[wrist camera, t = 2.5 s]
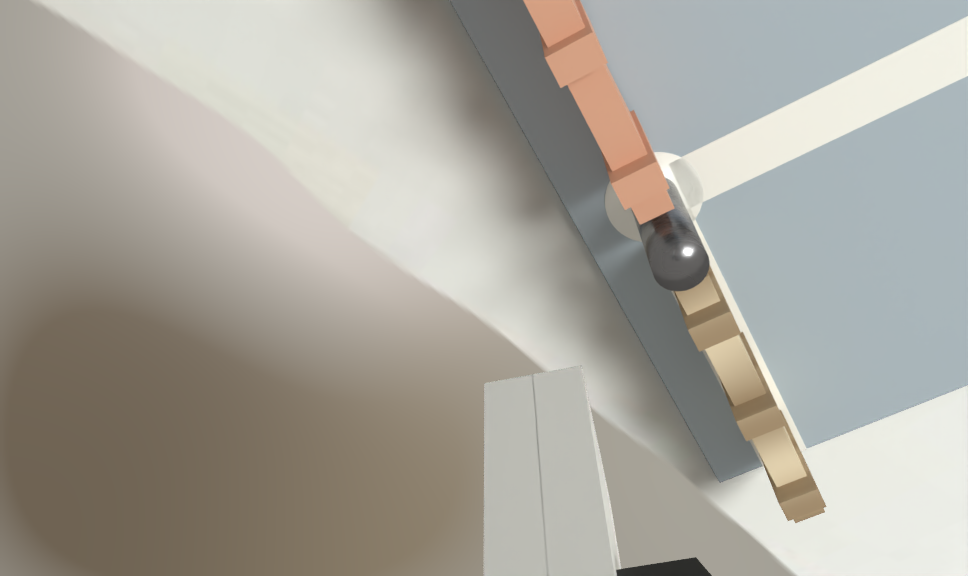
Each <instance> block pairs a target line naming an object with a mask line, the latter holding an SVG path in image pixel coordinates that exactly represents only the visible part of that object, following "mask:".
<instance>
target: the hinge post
mask: <svg viewBox="0 0 968 576" xmlns="http://www.w3.org/2000/svg"><path fill="white" fill-rule="evenodd" d="M665 179H666V181H667V183H668V186H669V189H667V192H668V194H669V196H670V199H671V201H672V203H673V206H674V209H672V210H670V211H668V212H666V213H664V214H662V215H660V216H658V217H656V218H653V219H651V220H649V221H647V222H645V223H643V224H641V225H640V224H639V222H638V220H637V218H636V216H635V214H634V212H633V210H632V208H631V210H632V213H633V216H634V219H635V222H636V225H637V228H638V231H639V234H640V237H641V240H642V243H643V246H644V249H645V252H646V255H647V258H648V261H649V264H650V267H651V270H652V273H653V276H654V278H655V280H656V282H657V283H658V284H659V285H660V286H662V287H663V288H665V289H667V290H670V291H686V290H689V289H692V288H694V287H695V286H697V285H698V284H700V283H701V282H702V281H703V280H704V278H705V277H706V275H707V273H708V271H709V266H710V261H709V257H708V254H707V252H706V250H705V248H704V246H703V243H702V241H701V239H700V237H699V235H698V233H697V230H696V228H695V226H694V224H693V222H692V220H691V217H690V215H689V213H688V211H687V209H686V207H685V204H684V202H683V200H682V198H681V196H680V194H679V191H678V189H677V187H676V185H675V184H674V183H673V182H672V181H671V180H669V179H668V178H665Z"/></svg>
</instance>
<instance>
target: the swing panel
mask: <svg viewBox="0 0 968 576" xmlns="http://www.w3.org/2000/svg"><path fill="white" fill-rule="evenodd" d="M523 1H524V3H525V5H526V7H527V9H528V11H529V13H530V14H531V16H532V18H533V20H534V22H535V24H536V26H537V28H538V30H539V32H540V37H541V42H542V46H543V51H544V56H545V59H546V61H547V63H548V65H549V67H550V69H551V71H552V72H553V74H554V76H555V78H556V80H557V82H558V84H559V86H560V88H562V87H564V86H566V85H568V87H569V89H570V91H571V93H572V95H573V97H574V99H575V101H576V103H577V105H578V107H579V109H580V110H581V112H582V114H583V116H584V118H585V120H586V122H587V124H588V126H589V128H590V130H591V132H592V133H593V135H594V137H595V139H596V141H597V143H598V145H599V147H600V149H601V152H602V156H603V159H604V162H605V166H606V169H607V172H608V175H609V179H610V182H611V185H612V187H613V189H614V190H615V192H616V194H617V196H618V198H619V200H620V202H621V204H622V206H623V208H624V209H625V210H626V209H628V208H630V207H631V208H632V210H633V212H634V214H635V216H636V218H637V220H638V222H639V224H640V225H641V224H643V223H645V222H647V221H649V220H651V219H653V218H656V217H658V216H660V215H662V214H664V213H666V212H668V211H670V210H672V209H674V206H673V203H672V201H671V199H670V196H669V194H668V192H667V189H669V186H668V183H667V181H666V179H665V177H664V174H663V172H662V170H661V167H660V165H659V163H658V161H657V158H656V156H655V154H654V152H653V149H652V147H651V145H650V143H649V140H648V138H647V136H646V134H645V132H644V130H643V128H642V125H641V123H640V121H639V119H638V117H637V115H636V113H635V111H634V110H632V111H629V109H628V107H627V105H626V103H625V101H624V99H623V97H622V95H621V93H620V91H619V89H618V87H617V85H616V83H615V81H614V79H613V77H612V75H611V73H610V71H609V69H608V67H607V63H608V62H607V59H606V57H605V55H604V52H603V50H602V47H601V45H600V43H599V40H598V38H597V36H596V33H595V31H594V28H593V26H592V24H591V22H590V19H589V17H588V15H587V13H586V11H585V9H584V7H583V5H582V3H581V1H580V0H523Z"/></svg>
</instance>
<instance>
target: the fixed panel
mask: <svg viewBox="0 0 968 576" xmlns="http://www.w3.org/2000/svg"><path fill="white" fill-rule="evenodd" d="M674 293H675V296H676V299H677V301H678V304H679V307H680V310H681V313H682V315H683V318H684V321H685V324H686V326H687V329H688V331H689V333H690V335H691V337H692V339H693V341H694V343H695V345H696V346H697V348H698V350H699V352H700V351H703V350H706V352H707V354H708V356H709V358H710V360H711V362H712V364H713V366H714V368H715V370H716V372H717V374H718V376H719V379H720V381H721V384H722V387H723V389H724V392H725V394H726V397H727V399H728V402H729V405H730V407H731V410H732V412H733V415H734V418H735V420H736V423H737V425H738V426H739V428H740V430H741V432H742V434H743V436H744V438H745V440H746V441H749V440H751V439H752V441H753V443H754V444H755V446H756V448H757V450H758V452H759V455H760V457H761V460H762V462H763V465H764V467H765V470H766V472H767V475H768V477H769V480H770V482H771V485H772V487H773V490H774V492H775V495H776V497H777V500H778V502H779V504H780V506H781V508H782V510H783V512H784V514H785V516H786V518H787V520H788V521H789V520H792V519H794V521H795V523H797V522H800V521H802V520H805V519H808V518H810V517H813V516H816V515H819V514H821V513H824V512H825V511H824V509H823V508H824V507H826V505H825V503H824V500H823V498H822V496H821V494H820V492H819V490H818V488H817V485H816V483H815V481H814V479H813V477H812V475H811V472H810V470H809V468H808V466H807V464H806V462H805V460H804V457H803V455H802V453H801V451H800V449H799V447H798V444H797V442H796V440H795V438H794V436H793V434H792V432H791V429H790V427H789V425H788V423H787V421H786V419H785V417H784V415H783V413H782V411H781V410H779V408H778V406H777V404H776V402H775V400H774V397H773V395H772V393H771V391H770V389H769V387H768V384H767V382H766V380H765V378H764V376H763V374H762V371H761V369H760V367H759V365H758V363H757V361H756V358H755V356H754V354H753V352H752V350H751V348H750V346H749V344H748V342H747V340H746V337H745V335H744V333H743V332H740V330H739V328H738V325H737V323H736V321H735V319H734V317H733V314H732V312H731V310H730V308H729V306H728V303H727V301H726V299H725V297H724V295H723V293H722V290H721V288H720V286H719V284H718V282H717V279H716V277H715V275H714V273H713V271H712V268H711V266H709V271H708V273H707V275H706V277H705V278H704V280H703V281H702V282H701V283H700V284H698V285H697V286H695V287H694V288H692V289H689V290H686V291H674Z"/></svg>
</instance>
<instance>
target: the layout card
mask: <svg viewBox="0 0 968 576" xmlns="http://www.w3.org/2000/svg"><path fill="white" fill-rule="evenodd" d="M580 1H581V3H582V5H583V7H584V9H585V11H586V13H587V15H588V17H589V19H590V22H591V24H592V26H593V28H594V31H595V33H596V36H597V38H598V40H599V43H600V45H601V47H602V50H603V52H604V55H605V57H606V59H607V62H608V63H607V67H608V69H609V71H610V73H611V75H612V77H613V79H614V81H615V83H616V85H617V87H618V89H619V91H620V93H621V95H622V97H623V99H624V101H625V103H626V105H627V107H628V109H629V111H632V110H634V111H635V113H636V115H637V117H638V119H639V121H640V123H641V125H642V128H643V130H644V132H645V134H646V136H647V138H648V140H649V143H650V145H651V147H652V149H653V152H654V154H655V156H656V158H657V161H658V163H659V165H660V167H661V170H662V172H663V174H664V177H665V178H668V179H669V180H671V181H672V182H673V183H674V184H675V185H676V187H677V189H678V191H679V194H680V196H681V198H682V200H683V202H684V204H685V207H686V209H687V211H688V213H689V215H690V217H691V220H692V222H693V224H694V226H695V228H696V230H697V233H698V235H699V237H700V239H701V241H702V243H703V246H704V248H705V250H706V252H707V254H708V257H709V261H710V266H711V268H712V271H713V273H714V275H715V277H716V279H717V282H718V284H719V286H720V288H721V290H722V293H723V295H724V297H725V299H726V301H727V303H728V306H729V308H730V310H731V312H732V314H733V317H734V319H735V321H736V323H737V325H738V328H739V330H740V332H743V333H744V335H745V337H746V340H747V342H748V344H749V346H750V348H751V350H752V352H753V354H754V356H755V358H756V361H757V363H758V365H759V367H760V369H761V371H762V374H763V376H764V378H765V380H766V382H767V384H768V387H769V389H770V391H771V393H772V395H773V397H774V400H775V402H776V404H777V406H778V408H779V410H781V411H782V413H783V415H784V417H785V419H786V421H787V423H788V425H789V427H790V429H791V432H792V434H793V436H794V438H795V440H796V442H797V444H798V447H799V449H800V451H804V450H806V449H807V448H809V447H812V446H814V445H817V444H820V443H822V442H825V441H827V440H830V439H832V438H835V437H837V436H840V435H842V434H845V433H847V432H850V431H853V430H855V429H858V428H860V427H863V426H865V425H868V424H870V423H873V422H875V421H878V420H880V419H883V418H886V417H888V416H891V415H893V414H896V413H898V412H901V411H903V410H906V409H908V408H911V407H914V406H916V405H919V404H921V403H924V402H926V401H929V400H931V399H934V398H936V397H939V396H941V395H944V394H947V393H949V392H952V391H954V390H957V389H959V388H962V387H964V386H967V385H968V0H580ZM450 2H451V4H452V6H453V7H454V9H455V11H456V13H457V15H458V16H459V18H460V20H461V22H462V24H463V25H464V27H465V29H466V31H467V32H468V34H469V36H470V38H471V40H472V41H473V43H474V45H475V47H476V49H477V50H478V52H479V54H480V56H481V57H482V59H483V61H484V63H485V65H486V66H487V68H488V70H489V72H490V74H491V75H492V77H493V79H494V81H495V82H496V84H497V86H498V88H499V90H500V91H501V93H502V95H503V97H504V99H505V100H506V102H507V104H508V106H509V107H510V109H511V111H512V113H513V115H514V116H515V118H516V120H517V122H518V124H519V125H520V127H521V129H522V131H523V132H524V134H525V136H526V138H527V140H528V141H529V143H530V145H531V147H532V149H533V150H534V152H535V154H536V156H537V157H538V159H539V161H540V163H541V165H542V166H543V168H544V170H545V172H546V173H547V175H548V177H549V179H550V181H551V182H552V184H553V186H554V188H555V190H556V191H557V193H558V195H559V197H560V198H561V200H562V202H563V204H564V206H565V207H566V209H567V211H568V213H569V215H570V216H571V218H572V220H573V222H574V223H575V225H576V227H577V229H578V231H579V232H580V234H581V236H582V238H583V240H584V241H585V243H586V245H587V247H588V248H589V250H590V252H591V254H592V256H593V257H594V259H595V261H596V263H597V265H598V266H599V268H600V270H601V272H602V273H603V275H604V277H605V279H606V281H607V282H608V284H609V286H610V288H611V290H612V291H613V293H614V295H615V297H616V298H617V300H618V302H619V304H620V306H621V307H622V309H623V311H624V313H625V315H626V316H627V318H628V320H629V322H630V323H631V325H632V327H633V329H634V331H635V332H636V334H637V336H638V338H639V340H640V341H641V343H642V345H643V347H644V348H645V350H646V352H647V354H648V356H649V357H650V359H651V361H652V363H653V364H654V366H655V368H656V370H657V372H658V373H659V375H660V377H661V379H662V381H663V382H664V384H665V386H666V388H667V389H668V391H669V393H670V395H671V397H672V398H673V400H674V402H675V404H676V406H677V407H678V409H679V411H680V413H681V414H682V416H683V418H684V420H685V422H686V423H687V425H688V427H689V429H690V431H691V432H692V434H693V436H694V438H695V439H696V441H697V443H698V445H699V447H700V448H701V450H702V452H703V454H704V456H705V457H706V459H707V461H708V463H709V464H710V466H711V468H712V470H713V472H714V473H715V475H716V477H717V479H718V481H719V482H723V481H726V480H728V479H731V478H733V477H736V476H738V475H741V474H743V473H746V472H748V471H751V470H753V469H756V468H759V467H761V466H764V465H763V462H762V460H761V457H760V455H759V452H758V450H757V448H756V446H755V444H754V443H753V441H752V439H751V440H749V441H746V440H745V438H744V436H743V434H742V432H741V430H740V428H739V426H738V425H737V423H736V420H735V418H734V415H733V412H732V410H731V407H730V405H729V402H728V399H727V397H726V394H725V392H724V389H723V387H722V384H721V381H720V379H719V376H718V374H717V372H716V370H715V368H714V366H713V364H712V362H711V360H710V358H709V356H708V354H707V352H706V350H703V351H700V352H699V350H698V348H697V346H696V345H695V343H694V341H693V339H692V337H691V335H690V333H689V331H688V329H687V326H686V324H685V321H684V318H683V315H682V313H681V310H680V307H679V304H678V301H677V299H676V296H675V293H674V291H670V290H667V289H665V288H663V287H662V286H660V285H659V284H658V283H657V282H656V280H655V278H654V276H653V273H652V270H651V267H650V264H649V261H648V258H647V255H646V252H645V249H644V246H643V243H642V240H641V237H640V234H639V231H638V228H637V225H636V222H635V219H634V216H633V213H632V210H631V207H630V208H628V209H626V210H625V209H624V208H623V206H622V204H621V202H620V200H619V198H618V196H617V194H616V192H615V190H614V189H613V187H612V185H611V182H610V179H609V175H608V172H607V169H606V166H605V162H604V159H603V156H602V152H601V149H600V147H599V145H598V143H597V141H596V139H595V137H594V135H593V133H592V132H591V130H590V128H589V126H588V124H587V122H586V120H585V118H584V116H583V114H582V112H581V110H580V109H579V107H578V105H577V103H576V101H575V99H574V97H573V95H572V93H571V91H570V89H569V87H568V85H566V86H564V87H562V88H560V86H559V84H558V82H557V80H556V78H555V76H554V74H553V72H552V71H551V69H550V67H549V65H548V63H547V61H546V59H545V56H544V51H543V46H542V42H541V37H540V32H539V30H538V28H537V26H536V24H535V22H534V20H533V18H532V16H531V14H530V13H529V11H528V9H527V7H526V5H525V3H524V1H523V0H450Z"/></svg>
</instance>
